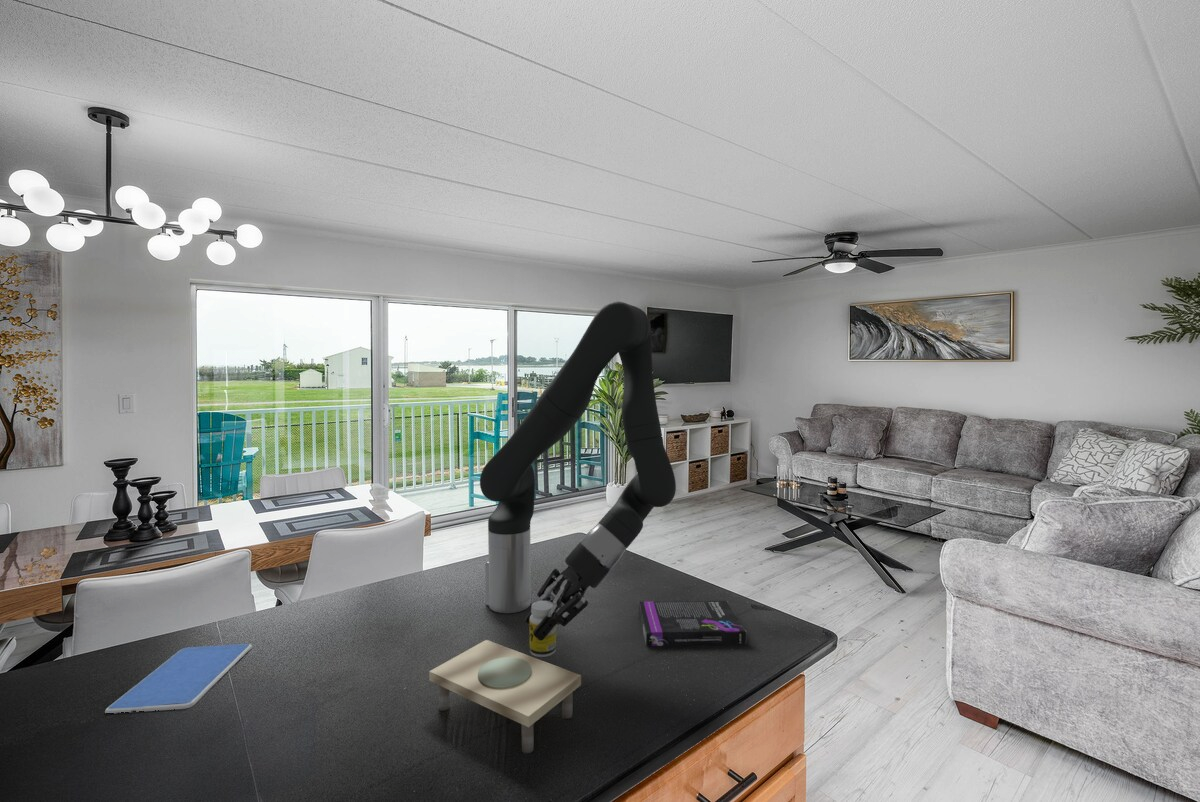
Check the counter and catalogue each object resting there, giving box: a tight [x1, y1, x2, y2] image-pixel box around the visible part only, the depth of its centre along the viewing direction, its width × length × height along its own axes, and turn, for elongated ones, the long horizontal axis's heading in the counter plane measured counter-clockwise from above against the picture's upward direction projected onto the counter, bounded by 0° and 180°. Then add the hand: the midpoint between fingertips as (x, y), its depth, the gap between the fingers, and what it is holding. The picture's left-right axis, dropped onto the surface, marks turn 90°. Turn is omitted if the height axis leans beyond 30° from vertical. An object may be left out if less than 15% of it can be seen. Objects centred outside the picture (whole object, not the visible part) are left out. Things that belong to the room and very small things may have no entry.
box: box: [638, 600, 748, 647], centre depth 111 cm, size 14×4×20 cm
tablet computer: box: [104, 643, 253, 714], centre depth 93 cm, size 19×13×1 cm, turn 7°
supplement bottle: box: [528, 600, 557, 658], centre depth 98 cm, size 5×5×8 cm
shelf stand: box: [428, 639, 582, 754], centre depth 84 cm, size 20×12×6 cm, turn 56°
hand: (532, 629), depth 97 cm, fingers closed on supplement bottle, 4 cm apart
